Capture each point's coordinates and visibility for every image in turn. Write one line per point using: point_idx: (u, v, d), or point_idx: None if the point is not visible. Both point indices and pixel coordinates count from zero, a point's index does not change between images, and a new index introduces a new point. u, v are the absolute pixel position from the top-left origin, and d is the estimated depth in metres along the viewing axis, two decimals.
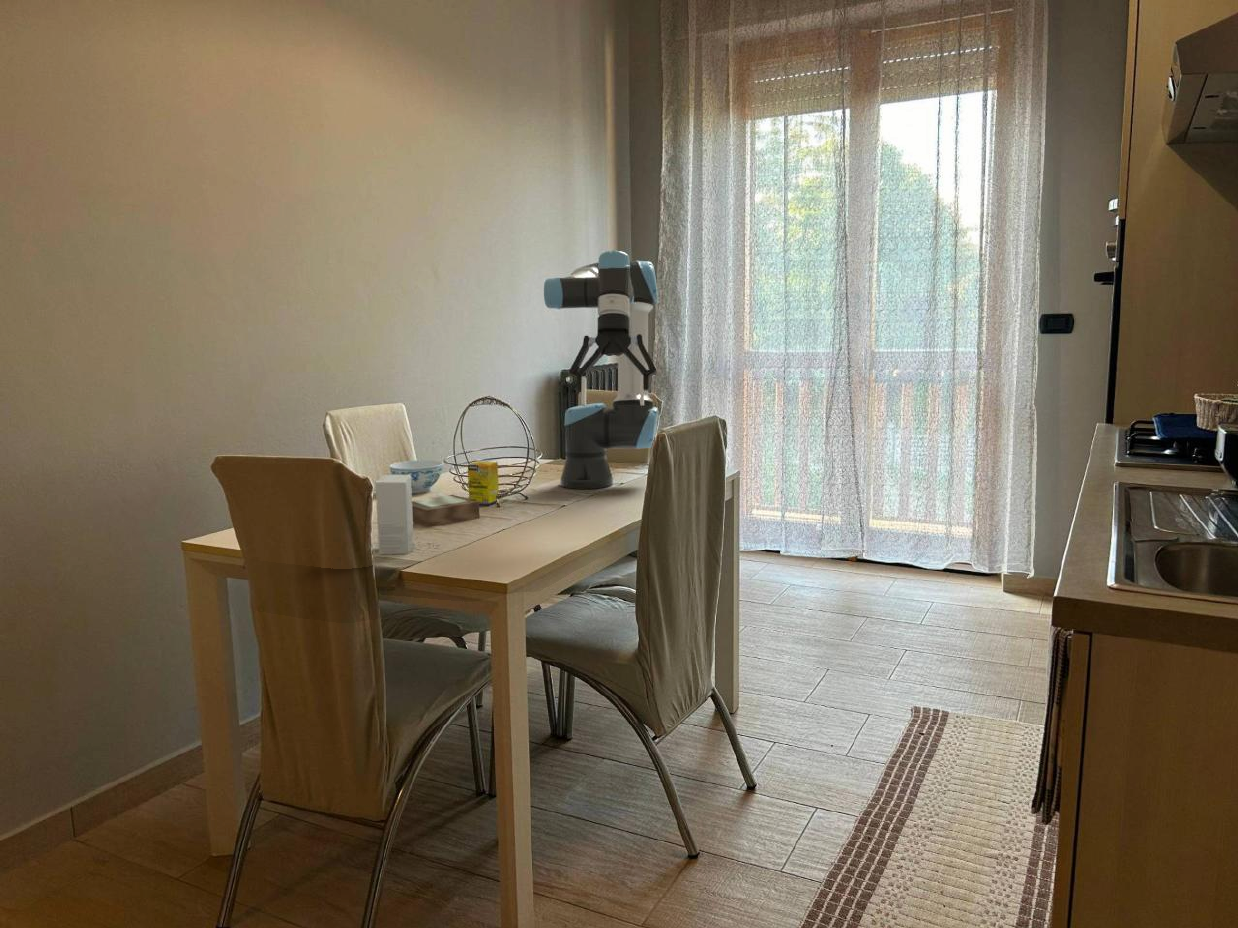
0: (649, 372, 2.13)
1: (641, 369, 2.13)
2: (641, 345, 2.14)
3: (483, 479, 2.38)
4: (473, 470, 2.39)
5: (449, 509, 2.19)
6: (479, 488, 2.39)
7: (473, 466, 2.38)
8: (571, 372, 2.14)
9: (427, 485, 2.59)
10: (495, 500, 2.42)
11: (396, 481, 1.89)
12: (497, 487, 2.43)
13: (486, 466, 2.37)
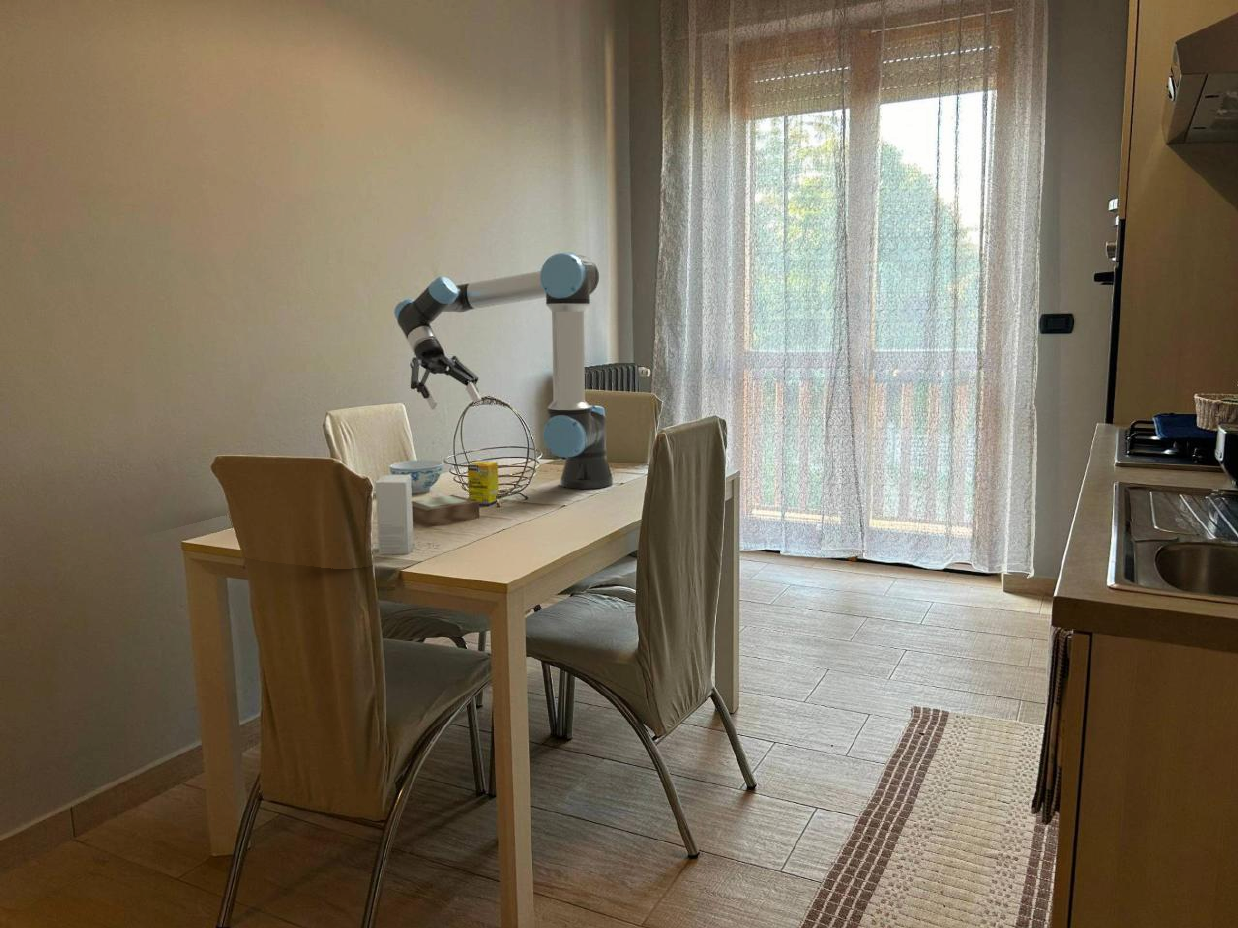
0: None
1: None
2: None
3: (483, 479, 2.38)
4: (473, 470, 2.39)
5: (449, 509, 2.19)
6: (479, 488, 2.39)
7: (473, 466, 2.38)
8: None
9: (427, 485, 2.59)
10: (495, 500, 2.42)
11: (396, 481, 1.89)
12: (497, 487, 2.43)
13: (486, 466, 2.37)
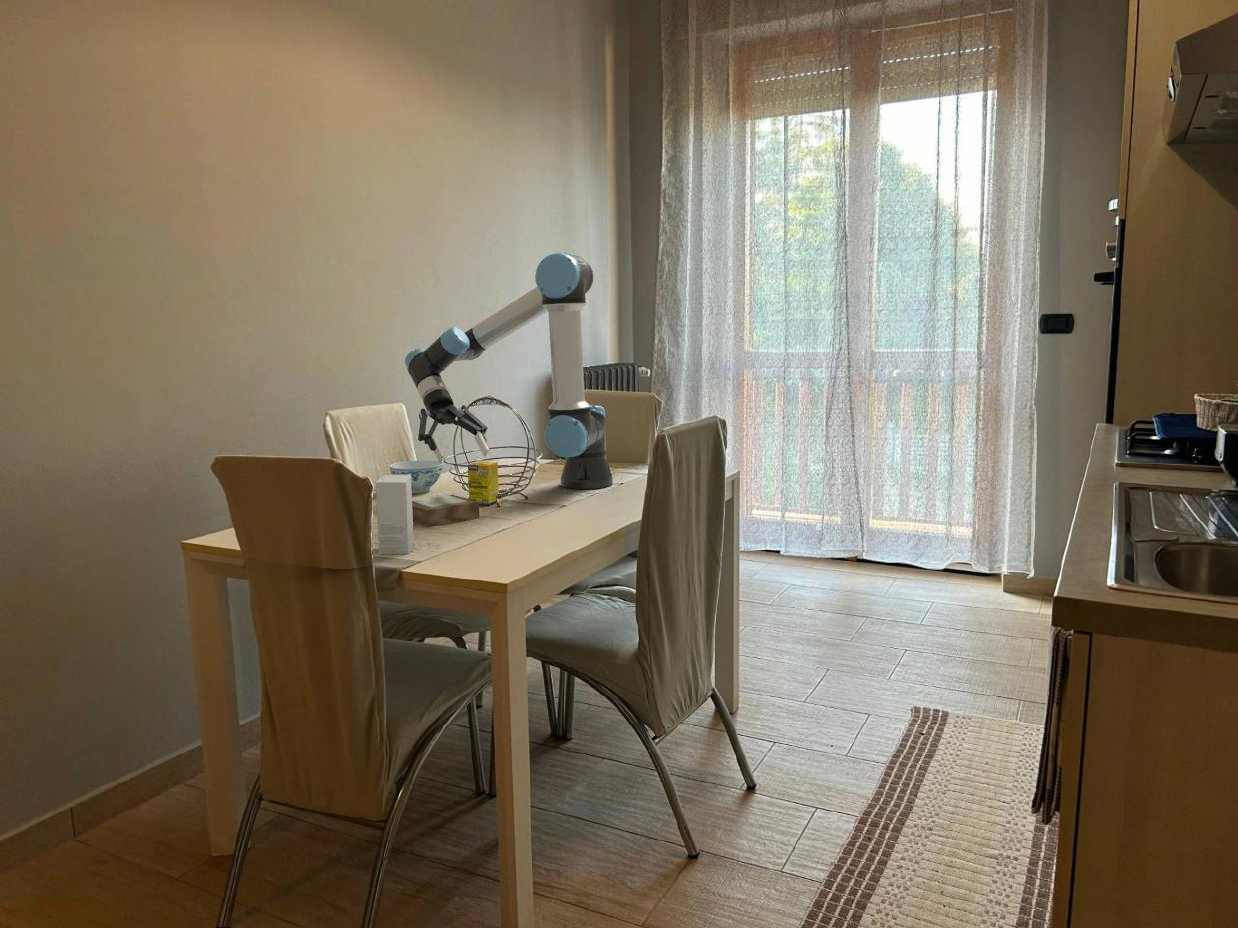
0: None
1: None
2: None
3: (483, 479, 2.38)
4: (473, 470, 2.39)
5: (449, 509, 2.19)
6: (479, 488, 2.39)
7: (473, 466, 2.38)
8: None
9: (427, 485, 2.59)
10: (495, 500, 2.42)
11: (396, 481, 1.89)
12: (497, 487, 2.43)
13: (486, 466, 2.37)
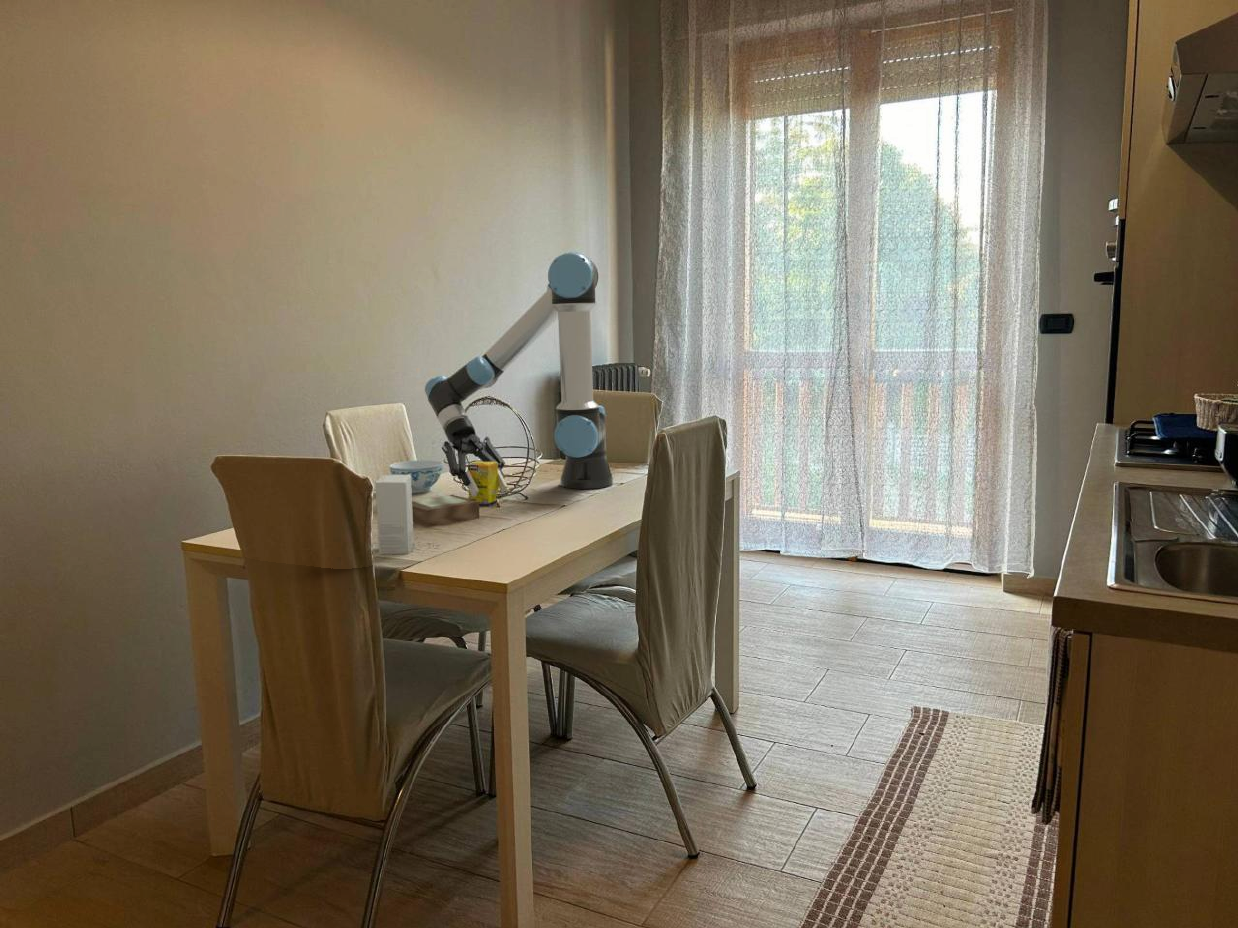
0: None
1: None
2: None
3: (483, 479, 2.38)
4: (473, 470, 2.39)
5: (449, 509, 2.19)
6: (479, 488, 2.39)
7: (473, 466, 2.38)
8: None
9: (427, 485, 2.59)
10: (495, 500, 2.42)
11: (396, 481, 1.89)
12: (497, 487, 2.43)
13: (486, 466, 2.37)
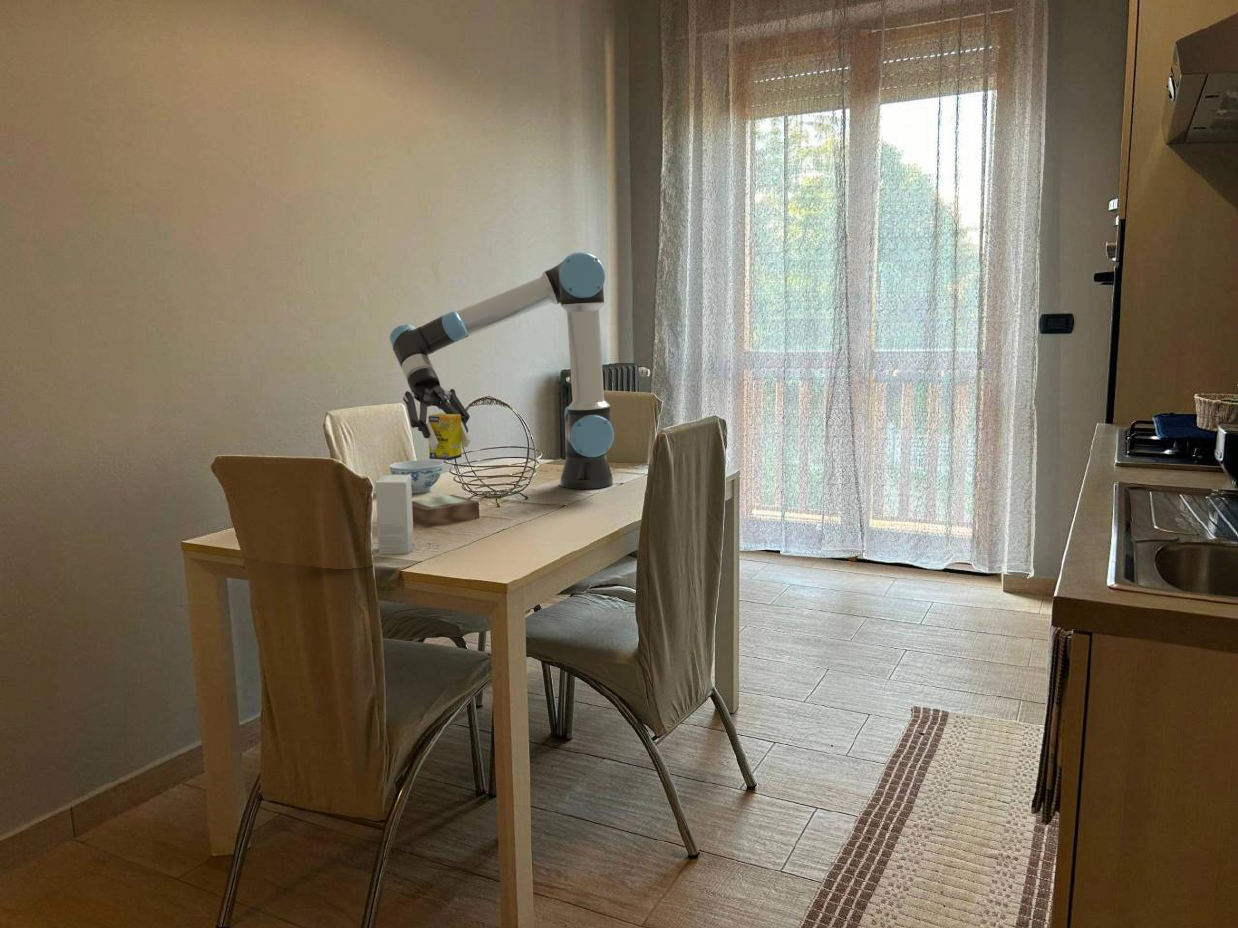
0: None
1: None
2: None
3: (444, 431, 2.26)
4: (433, 422, 2.26)
5: (449, 509, 2.19)
6: (439, 441, 2.27)
7: (434, 417, 2.26)
8: None
9: (427, 485, 2.59)
10: (457, 454, 2.30)
11: (396, 481, 1.89)
12: (460, 441, 2.31)
13: (447, 418, 2.25)
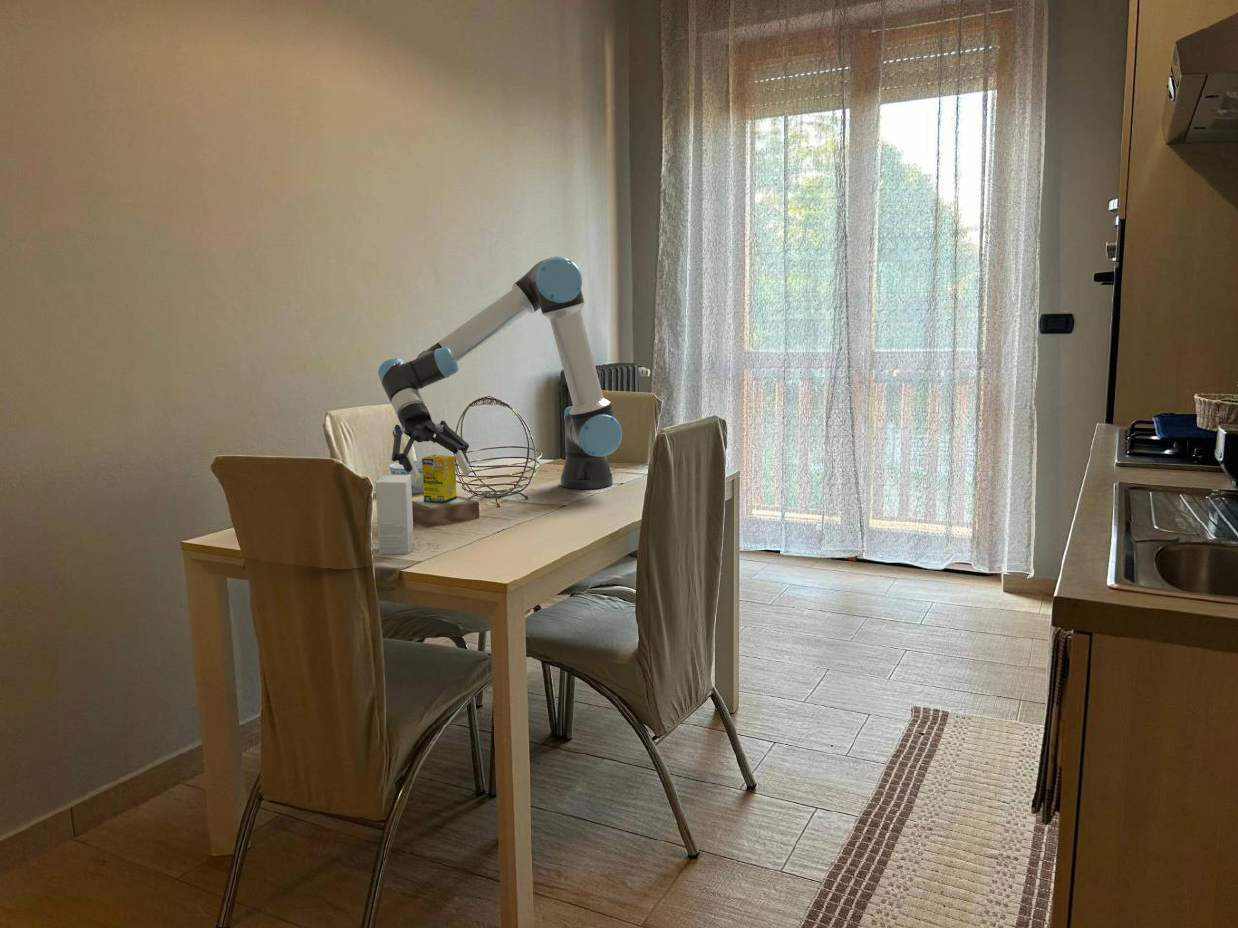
0: None
1: None
2: None
3: (438, 474, 2.21)
4: (427, 464, 2.21)
5: (449, 509, 2.19)
6: (434, 484, 2.22)
7: (427, 460, 2.21)
8: None
9: None
10: (452, 497, 2.25)
11: (396, 481, 1.89)
12: (454, 483, 2.26)
13: (441, 460, 2.20)
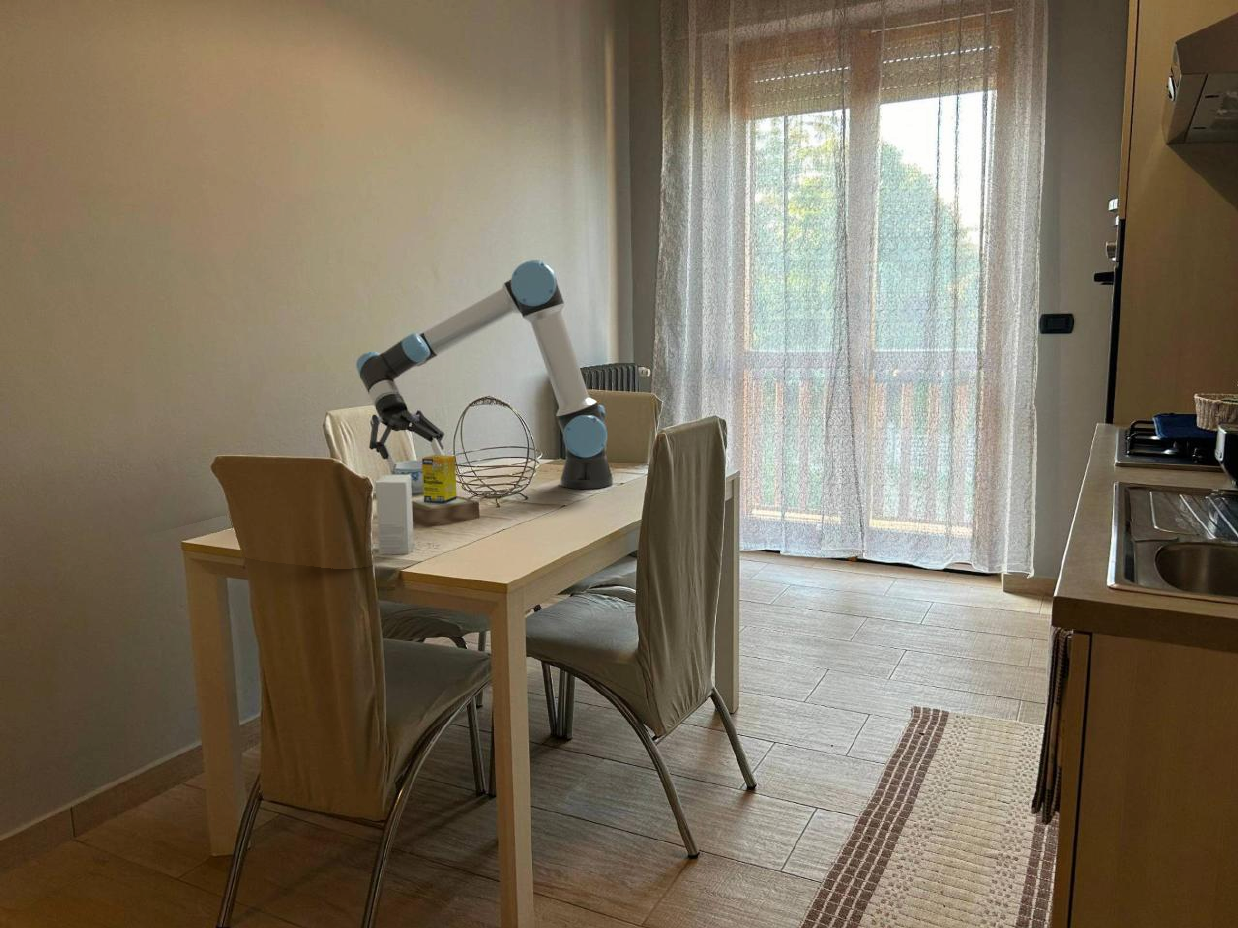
0: None
1: None
2: None
3: (438, 474, 2.21)
4: (427, 464, 2.21)
5: (449, 509, 2.19)
6: (434, 484, 2.22)
7: (427, 460, 2.21)
8: None
9: None
10: (452, 497, 2.25)
11: (396, 481, 1.89)
12: (454, 483, 2.26)
13: (441, 460, 2.20)
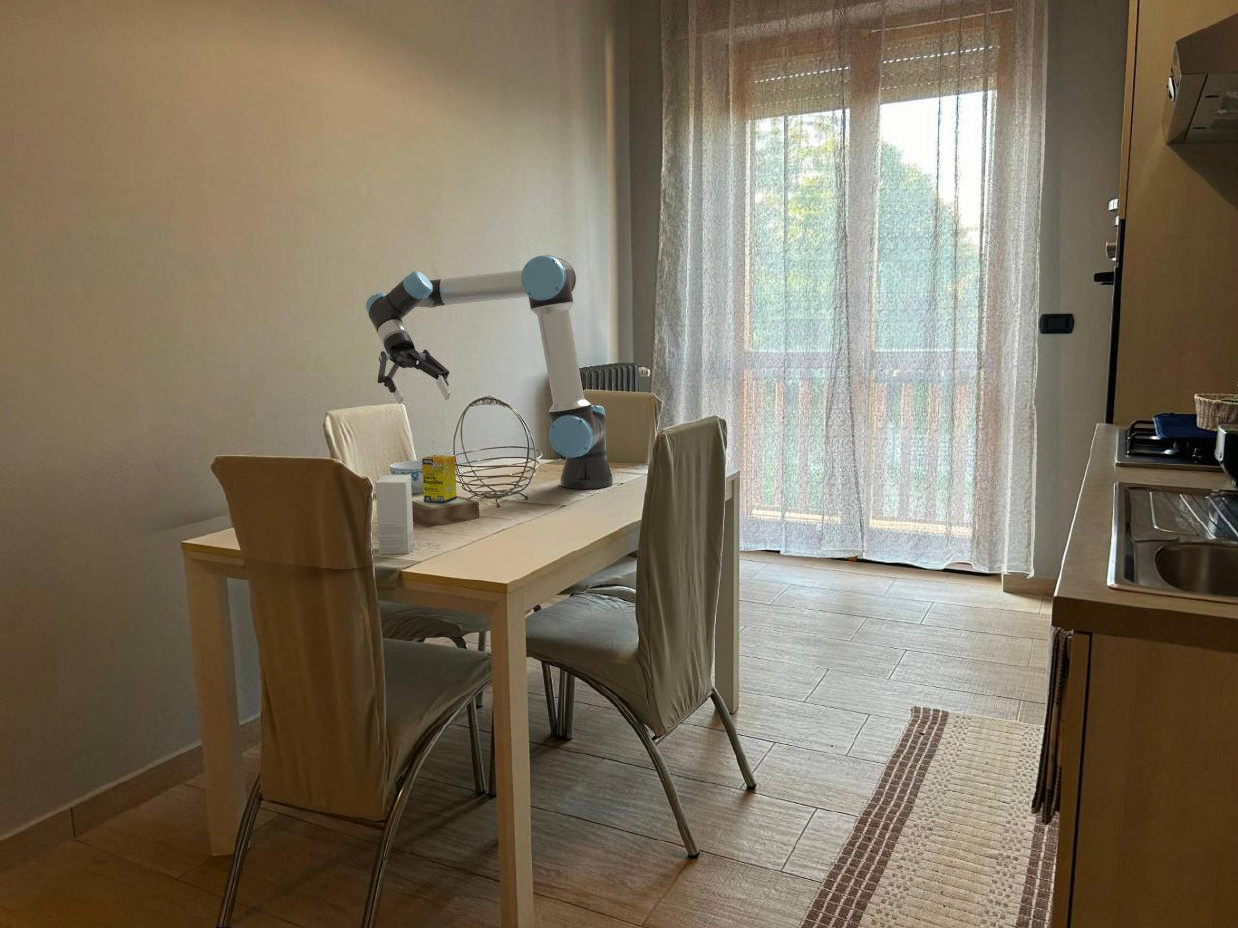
0: None
1: None
2: None
3: (438, 474, 2.21)
4: (427, 464, 2.21)
5: (449, 509, 2.19)
6: (434, 484, 2.22)
7: (427, 460, 2.21)
8: None
9: None
10: (452, 497, 2.25)
11: (396, 481, 1.89)
12: (454, 483, 2.26)
13: (441, 460, 2.20)
